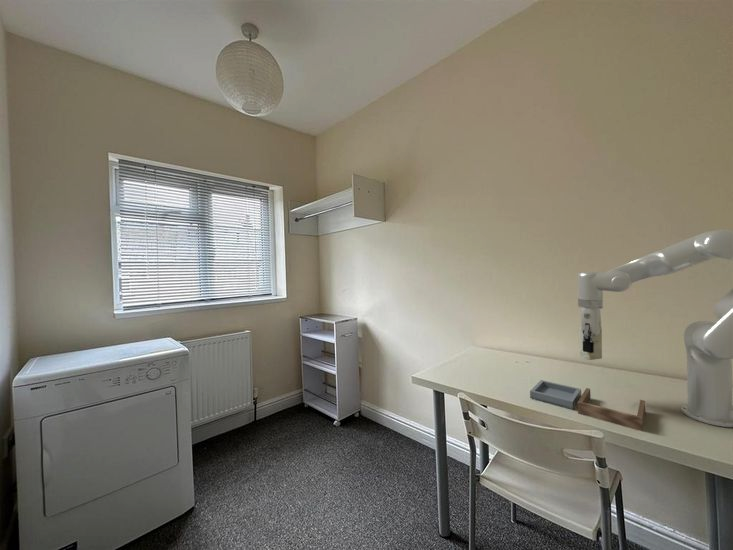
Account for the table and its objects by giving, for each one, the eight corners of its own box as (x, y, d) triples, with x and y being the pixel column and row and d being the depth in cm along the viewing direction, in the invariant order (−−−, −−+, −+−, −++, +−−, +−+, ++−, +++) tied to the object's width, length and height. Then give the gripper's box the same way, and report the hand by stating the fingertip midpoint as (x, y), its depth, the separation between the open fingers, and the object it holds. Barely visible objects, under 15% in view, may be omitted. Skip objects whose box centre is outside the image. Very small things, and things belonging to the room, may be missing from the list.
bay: (645, 412, 100) (645, 400, 99) (642, 431, 89) (641, 418, 89) (586, 398, 112) (586, 387, 111) (577, 413, 101) (577, 402, 101)
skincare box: (590, 360, 108) (589, 328, 107) (578, 357, 112) (578, 326, 111) (602, 358, 109) (602, 327, 109) (590, 355, 114) (590, 324, 113)
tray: (581, 396, 113) (581, 388, 113) (572, 410, 104) (572, 401, 104) (541, 386, 123) (541, 379, 123) (530, 398, 114) (529, 391, 114)
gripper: (598, 307, 101) (598, 357, 102) (606, 301, 113) (606, 346, 114) (572, 306, 107) (573, 353, 107) (583, 300, 118) (583, 343, 119)
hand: (590, 349), depth 110 cm, fingers closed on skincare box, 7 cm apart
